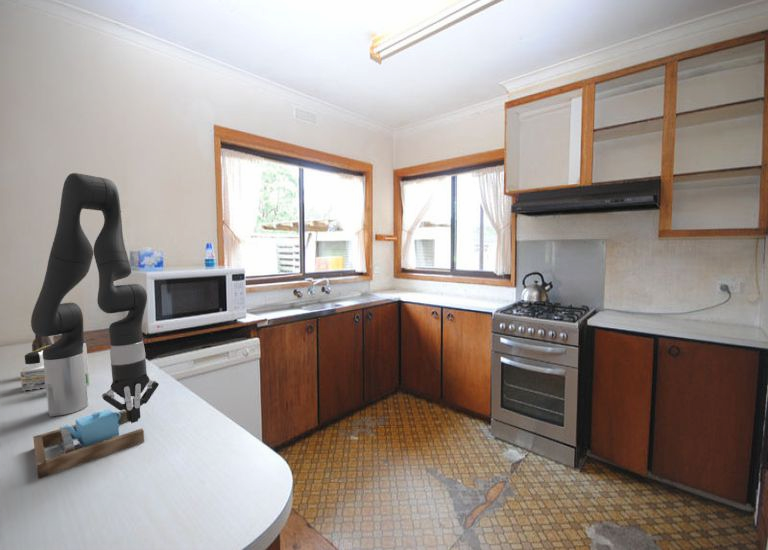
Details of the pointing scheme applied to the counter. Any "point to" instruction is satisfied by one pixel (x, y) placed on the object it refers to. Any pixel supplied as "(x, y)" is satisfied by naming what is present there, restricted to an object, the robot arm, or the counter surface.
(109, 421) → the teapot
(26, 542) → the counter surface
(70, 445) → the stop plate
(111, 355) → the robot arm
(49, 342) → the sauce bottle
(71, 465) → the bracket
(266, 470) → the counter surface
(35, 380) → the container
